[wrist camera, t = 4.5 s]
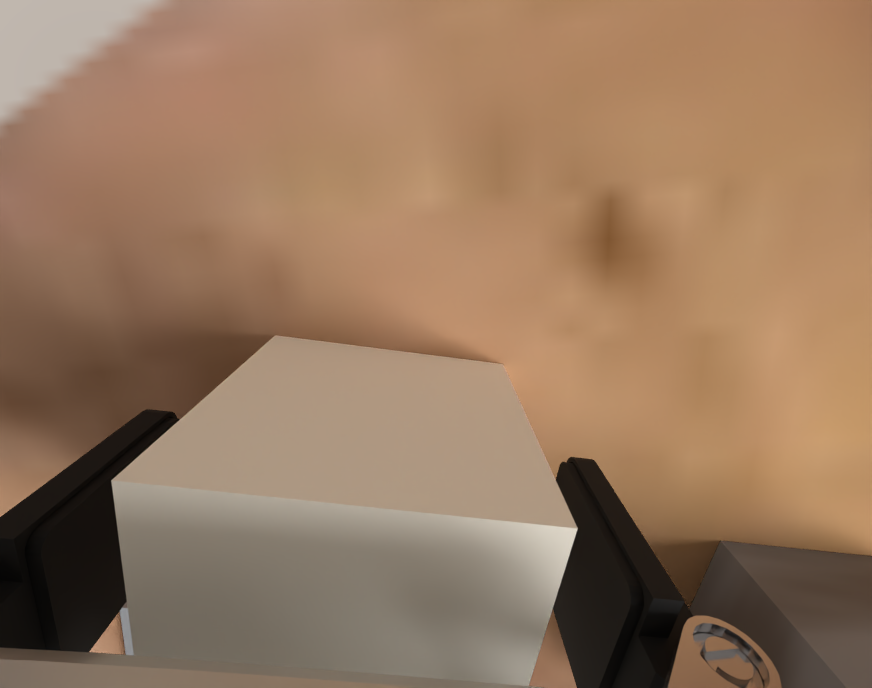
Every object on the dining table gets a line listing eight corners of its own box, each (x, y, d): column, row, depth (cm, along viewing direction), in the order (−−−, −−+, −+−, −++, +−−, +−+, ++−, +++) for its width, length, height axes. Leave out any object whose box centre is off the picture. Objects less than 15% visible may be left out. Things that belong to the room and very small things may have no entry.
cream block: (276, 333, 11) (110, 480, 5) (502, 362, 11) (577, 528, 6) (272, 519, 13) (148, 774, 7) (466, 539, 13) (495, 794, 8)
